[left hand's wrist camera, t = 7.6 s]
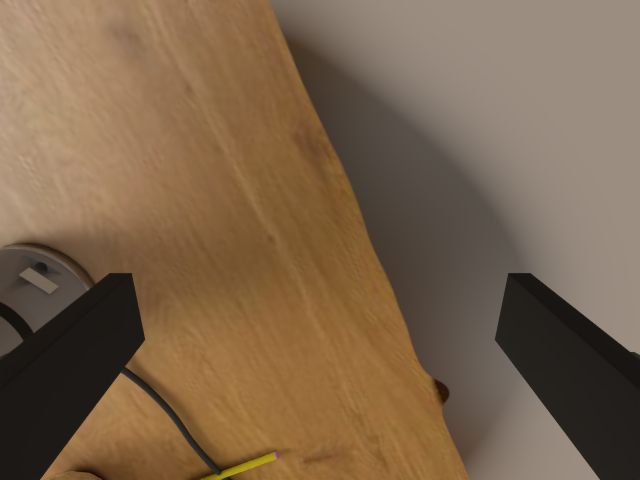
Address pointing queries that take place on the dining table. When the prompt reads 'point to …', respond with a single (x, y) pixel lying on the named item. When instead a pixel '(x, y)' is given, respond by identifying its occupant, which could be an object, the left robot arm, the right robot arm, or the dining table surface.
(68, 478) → the bowl
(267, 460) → the pencil
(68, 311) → the left robot arm
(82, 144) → the dining table surface
